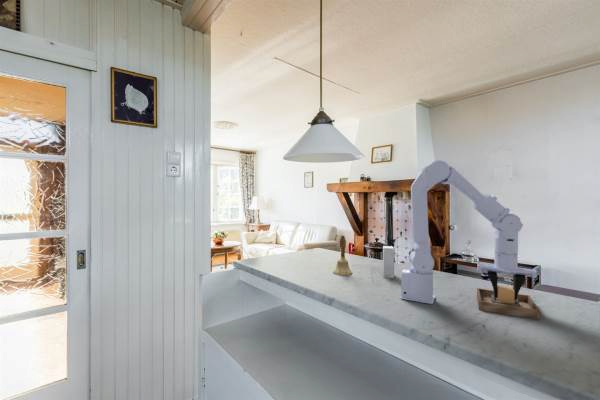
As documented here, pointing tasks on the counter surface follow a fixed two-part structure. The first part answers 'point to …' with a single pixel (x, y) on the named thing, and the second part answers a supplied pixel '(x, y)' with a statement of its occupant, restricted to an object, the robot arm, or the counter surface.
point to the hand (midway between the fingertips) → (505, 297)
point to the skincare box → (388, 261)
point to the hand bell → (342, 260)
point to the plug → (505, 294)
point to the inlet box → (508, 305)
